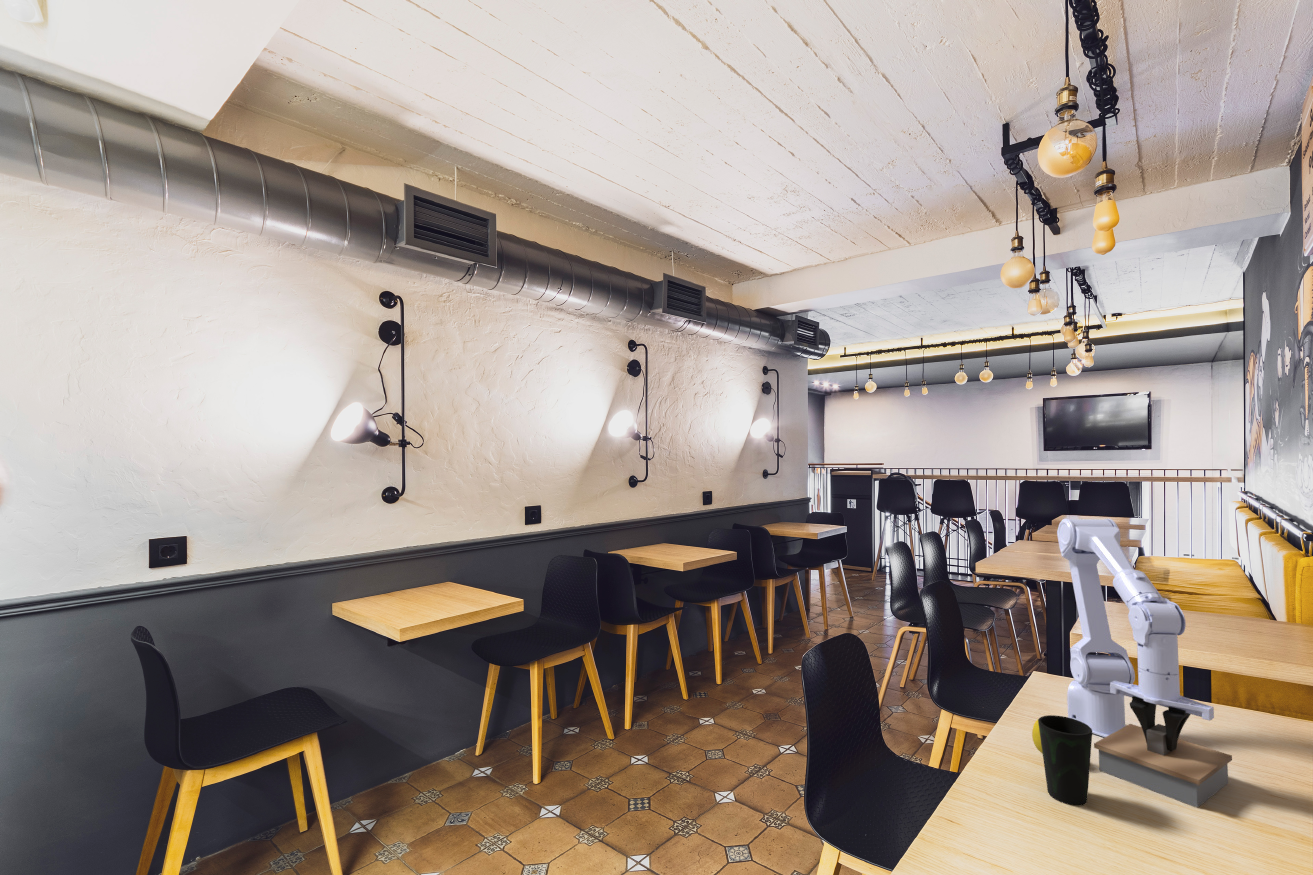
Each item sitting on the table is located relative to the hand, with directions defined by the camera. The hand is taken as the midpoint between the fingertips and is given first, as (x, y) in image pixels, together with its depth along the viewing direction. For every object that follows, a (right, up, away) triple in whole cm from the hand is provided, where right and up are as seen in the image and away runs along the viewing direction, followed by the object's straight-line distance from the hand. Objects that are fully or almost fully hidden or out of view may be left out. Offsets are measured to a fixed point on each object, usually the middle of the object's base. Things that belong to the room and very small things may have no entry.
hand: (1161, 745), depth 108 cm
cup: (-21, -6, -6) cm, 23 cm away
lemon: (-16, -6, +7) cm, 18 cm away
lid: (0, -1, 0) cm, 1 cm away
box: (0, -5, 0) cm, 5 cm away
